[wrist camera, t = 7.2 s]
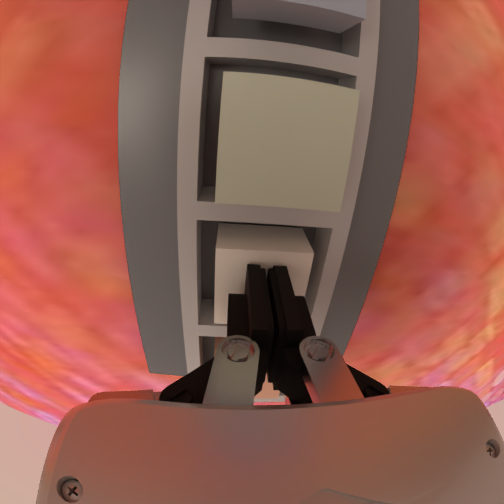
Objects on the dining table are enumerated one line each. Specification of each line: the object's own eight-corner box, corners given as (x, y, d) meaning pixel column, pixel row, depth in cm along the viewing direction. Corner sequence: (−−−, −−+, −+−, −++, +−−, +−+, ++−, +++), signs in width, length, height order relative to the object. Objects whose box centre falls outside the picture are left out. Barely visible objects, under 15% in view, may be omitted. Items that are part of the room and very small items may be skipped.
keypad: (145, -52, 7) (128, -76, 5) (410, -16, 9) (440, -29, 6) (151, 364, 20) (144, 395, 18) (331, 369, 22) (339, 398, 19)
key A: (226, 78, 9) (223, 71, 7) (333, 91, 10) (360, 90, 7) (219, 181, 11) (214, 203, 9) (320, 189, 11) (340, 212, 9)
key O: (218, 222, 14) (215, 248, 12) (302, 228, 14) (314, 253, 12) (216, 291, 16) (214, 323, 14) (289, 294, 16) (297, 325, 14)
